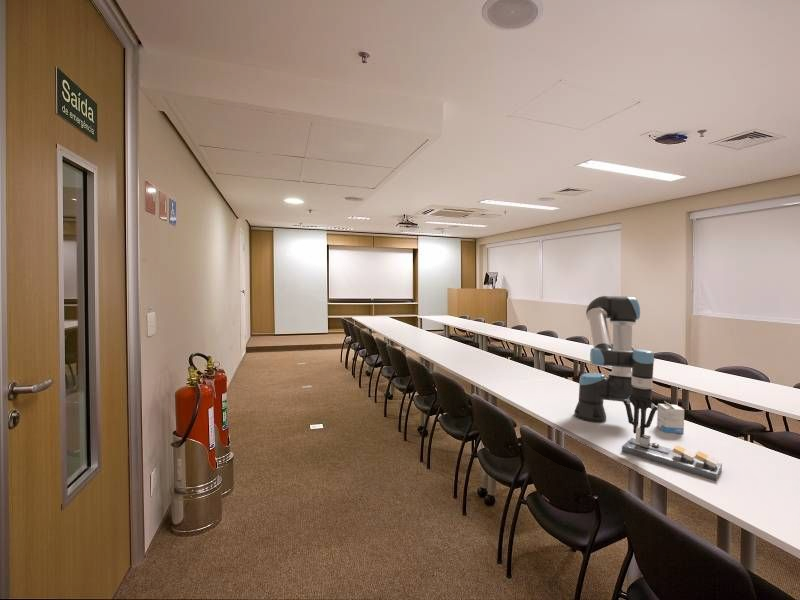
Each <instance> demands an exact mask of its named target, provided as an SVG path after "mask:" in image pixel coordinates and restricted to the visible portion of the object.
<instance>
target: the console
mask: <svg viewBox="0 0 800 600" xmlns="http://www.w3.org/2000/svg"><path fill="white" fill-rule="evenodd" d="M635 441H636V438H634V437H631V438H630V439H628V440H627V441H626V442H625V443H624V444H623V445H621V453H624V454H628V455H631V456H633V457H637V458H641V459H643V460H645V461H650V462H653V463H657V464H660V465H664V466H667V467H669V468H673V469H677V470H679V471H682V472H685V473H688V474H691V475H696V476H699V477H702V478H704V479H705V478H706V479H708V480H712V481H715V482H717V480H718V478H719V477H720V475H721V473H722V469H723V463H722V462H719V461H718V463H717V465H716V467H715V468H714V467H712V466H710V465H708V464H706V463H704V462H702V461H700V460H698V459H696V458H695V456H694V458H693V460H692V461H690V460H688V459H686V458H684V457H682V456H680V455H678V454H676V453H675V452H673V449H674V448H669V447H665V446H661V445H660V444H659V443H656V442H652V443H651V442H650V446H649V447H648V448H646V447H643V446H640V443H637V442H635Z"/></svg>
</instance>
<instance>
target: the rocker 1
mask: <svg viewBox="0 0 800 600" xmlns="http://www.w3.org/2000/svg"><path fill="white" fill-rule="evenodd" d="M672 449H673V452H675V453H676V454H678V455H680V456H682V457H684V458H686V459H688V460H690V461H692V460H693V458H694V456H695V455H696V453H694V452H692V451H690V450H688V449H685V448H684V447H682V446H681V445H678V444H676V445H675V446H674V448H672Z"/></svg>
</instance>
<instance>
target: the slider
mask: <svg viewBox="0 0 800 600" xmlns="http://www.w3.org/2000/svg"><path fill="white" fill-rule="evenodd" d="M651 438H652V437H651V435H646V434H644V435H640V446H643V447H646V448H648V447H649V446H650V443H651Z"/></svg>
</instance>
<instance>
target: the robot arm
mask: <svg viewBox="0 0 800 600" xmlns="http://www.w3.org/2000/svg"><path fill="white" fill-rule="evenodd" d="M585 315H586V319H587V320H588V321H589V326H590V331H591V337H592V343H593V347H592V348H590V352H589V361H590V363H591V364H592V365H597V366H603V367H604V366H606V367H607V366H608V367H611V371H610V372H609V373H608V377H607V376H605V374H604V373H601V372H586V373H583V374H581V375H580V376H579V383H578V387H579V388H578V401H577V404H576V406H575V409H574V415H573V416H574V417H575V418H576V419H579V420H581V421H584V422H589V423H596V424H597V423H605V422H606V421H607V414H606V410H605V407H604V400H605V401H614V402H621V403H623V404H624V406H625V410H626V415H627V420H628V423H629V424H630V425H632V426H633V428H632V430H633V431H632V432H633V434H635V439H636V441H635V442H637V443H640V435H646V434H645V431H646V429H649V428H650V426H651V424H652V422H653V419H654V417H655V415H656V413H657V411H658V408H659V407H658V405H655V404H654V402H653V399H652V397H653V389H652V388H653V381H654V380H653V378H654V364H655V363H654V362H655V356H654V355H655V354H654V352H653V351H652V350H648V349H633V347H632V346H633V343H632V342H633V326H634V325H635V324H636V321H638V320H639V319H640V317H641V308H640V304H639V301H638V299H637V298H636V297H633V296H617V295H615V296H613V295H612V296H611V295H610V296H609V295H602V296H598V297H596V298H594V299H593V300H592V301H591V302H590V303H588V306H587V308H586V311H585ZM607 319H609V322H610V324H611V325H612V341H611V336H610V332H609V326H608V322H607ZM631 405H632V406H633V411H632V407H631ZM649 407H650V412H649V415H648V417H647V409H648V408H649ZM639 417H640V419H639ZM646 417H647V418H646ZM646 419H647V421H646ZM639 421H640V422H639Z"/></svg>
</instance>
